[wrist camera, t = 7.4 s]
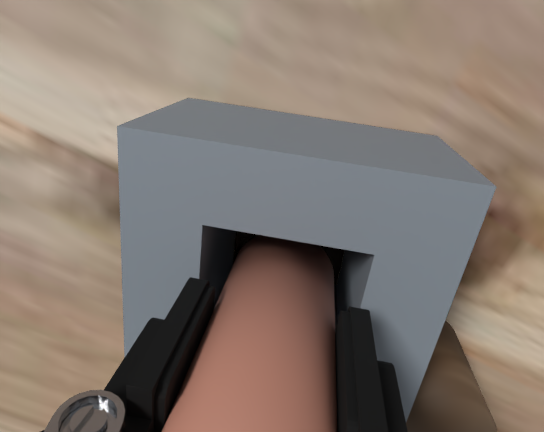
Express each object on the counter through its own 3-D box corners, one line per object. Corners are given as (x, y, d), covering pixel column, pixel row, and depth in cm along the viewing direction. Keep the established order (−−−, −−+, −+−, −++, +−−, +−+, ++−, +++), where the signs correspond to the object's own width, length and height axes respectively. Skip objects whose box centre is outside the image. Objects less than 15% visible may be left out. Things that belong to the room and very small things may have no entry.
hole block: (437, 135, 16) (496, 186, 10) (377, 336, 20) (396, 449, 14) (188, 97, 16) (117, 126, 11) (180, 299, 20) (125, 393, 15)
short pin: (467, 320, 19) (511, 410, 14) (443, 377, 20) (477, 474, 16) (390, 306, 19) (409, 390, 14) (372, 363, 20) (385, 456, 16)
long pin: (343, 240, 13) (386, 822, 3) (324, 325, 15) (314, 904, 5) (238, 222, 14) (-9, 716, 4) (229, 307, 15) (36, 826, 5)
